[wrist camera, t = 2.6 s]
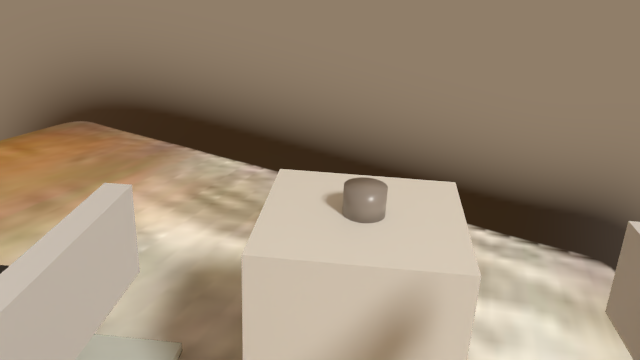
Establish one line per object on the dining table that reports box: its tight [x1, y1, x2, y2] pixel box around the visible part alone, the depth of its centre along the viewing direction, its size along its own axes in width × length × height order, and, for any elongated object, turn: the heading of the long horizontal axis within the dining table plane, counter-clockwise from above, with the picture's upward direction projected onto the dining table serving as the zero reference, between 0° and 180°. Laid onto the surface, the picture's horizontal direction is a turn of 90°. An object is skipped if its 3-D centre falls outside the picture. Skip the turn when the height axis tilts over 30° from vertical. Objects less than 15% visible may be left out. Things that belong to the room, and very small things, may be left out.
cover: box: [242, 169, 481, 360], centre depth 30 cm, size 9×9×13 cm
